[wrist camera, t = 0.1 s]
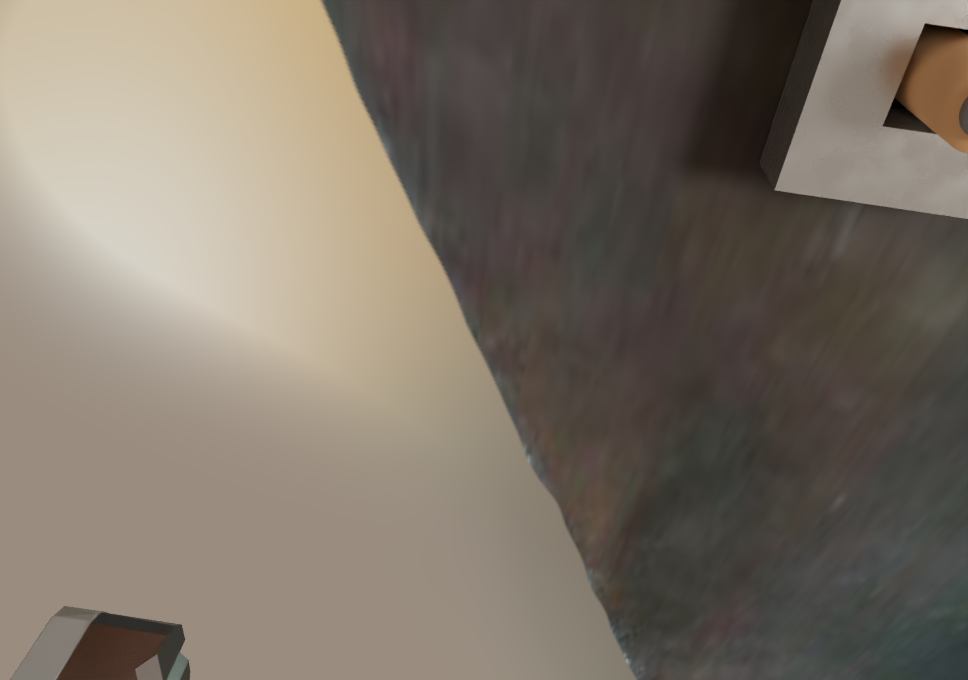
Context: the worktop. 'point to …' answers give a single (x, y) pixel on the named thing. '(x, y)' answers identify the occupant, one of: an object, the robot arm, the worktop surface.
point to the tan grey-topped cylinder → (939, 83)
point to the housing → (864, 111)
